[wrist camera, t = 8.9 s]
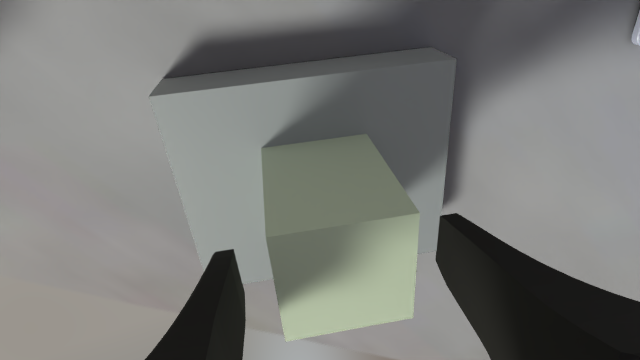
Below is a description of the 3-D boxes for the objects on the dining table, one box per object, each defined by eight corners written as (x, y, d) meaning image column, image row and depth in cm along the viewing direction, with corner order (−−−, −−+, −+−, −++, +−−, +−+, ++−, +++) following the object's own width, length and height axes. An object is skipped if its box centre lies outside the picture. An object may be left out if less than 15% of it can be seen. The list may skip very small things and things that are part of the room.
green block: (366, 133, 16) (419, 212, 11) (368, 219, 19) (413, 318, 13) (260, 148, 16) (265, 237, 11) (275, 233, 18) (285, 341, 13)
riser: (431, 46, 17) (456, 58, 15) (420, 223, 22) (438, 250, 20) (161, 78, 16) (148, 96, 14) (213, 256, 21) (209, 289, 19)
